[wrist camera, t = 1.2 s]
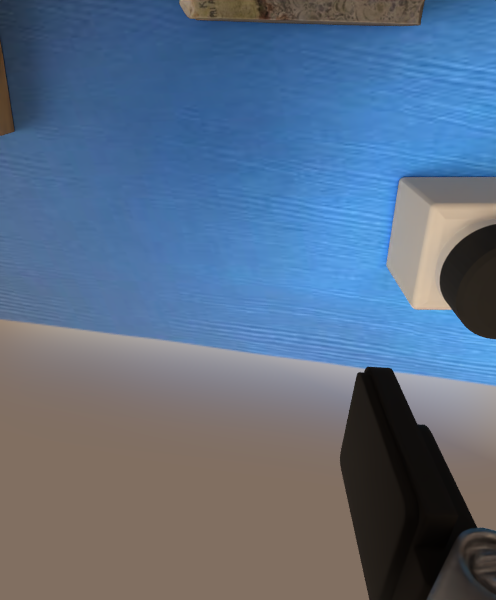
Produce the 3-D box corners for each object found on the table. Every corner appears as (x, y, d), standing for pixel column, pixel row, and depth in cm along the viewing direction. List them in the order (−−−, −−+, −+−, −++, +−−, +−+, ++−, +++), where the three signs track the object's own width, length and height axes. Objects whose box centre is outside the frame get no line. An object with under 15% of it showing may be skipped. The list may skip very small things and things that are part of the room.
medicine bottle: (384, 266, 36) (438, 354, 25) (398, 176, 32) (467, 233, 22) (475, 266, 36) (567, 355, 25) (498, 175, 32) (616, 233, 22)
